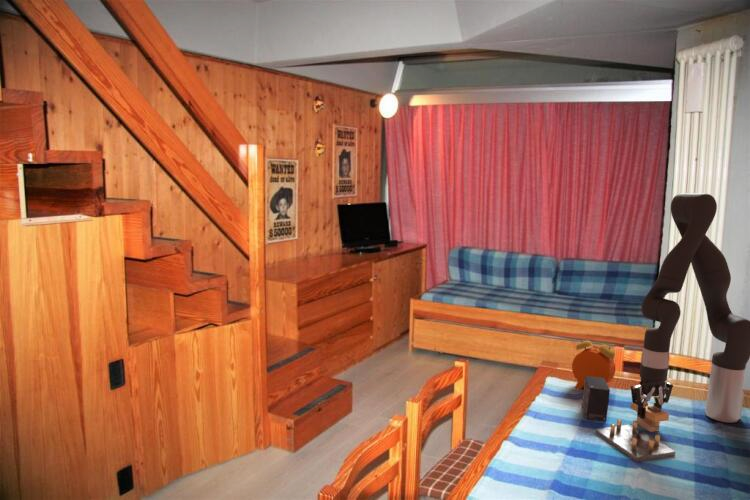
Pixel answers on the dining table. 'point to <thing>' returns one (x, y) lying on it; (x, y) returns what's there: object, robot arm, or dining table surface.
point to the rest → (648, 424)
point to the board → (652, 412)
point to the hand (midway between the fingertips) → (648, 416)
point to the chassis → (634, 442)
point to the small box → (595, 398)
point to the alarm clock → (593, 362)
